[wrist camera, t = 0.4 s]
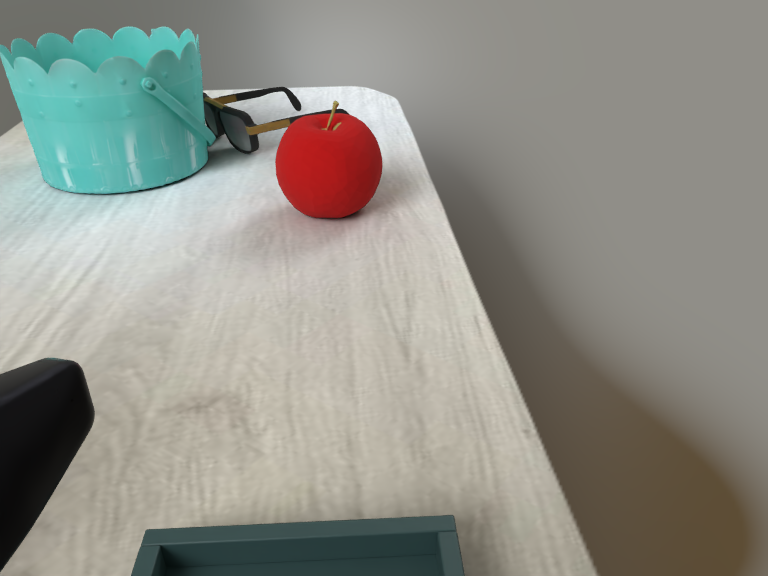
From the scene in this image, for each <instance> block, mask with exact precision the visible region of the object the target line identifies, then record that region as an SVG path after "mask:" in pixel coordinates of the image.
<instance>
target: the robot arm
mask: <svg viewBox="0 0 768 576" xmlns="http://www.w3.org/2000/svg"><path fill="white" fill-rule="evenodd" d="M94 416H95V411H94V406H93V403H92V399H91V396H90V393H89V389H88V386H87V382H86V379H85V376H84V372H83V370H82V368H81V367H80V365H79V364H78V363H76V362H74V361H71V360H64V359H58V358H44V359H41V360H38V361H35V362H33V363H30V364H27V365H25V366H22V367H19V368H16V369H14V370H11V371H8V372H5V373H3V374H0V572H1V570H2V569H3V568H4V566H5V565H6V564H7V562H8V561H9V559H10V558H11V557H12V555H13V554H14V552H15V551H16V550H17V548H18V547H19V546H20V544H21V543H22V541H23V540H24V538H25V537H26V535H27V534H28V533H29V531H30V530H31V528H32V527H33V525H34V523H35V522H36V520H37V519H38V517H39V515H40V514H41V512H42V510H43V509H44V507H45V505H46V504H47V502H48V500H49V499H50V497H51V495H52V494H53V492H54V490H55V489H56V487H57V485H58V484H59V482H60V480H61V478H62V477H63V475H64V473H65V472H66V470H67V468H68V467H69V465H70V463H71V462H72V460H73V458H74V457H75V455H76V453H77V452H78V450H79V448H80V447H81V445H82V443H83V441H84V440H85V438H86V436H87V435H88V433H89V431H90V429H91V428H92V425H93V422H94Z"/></svg>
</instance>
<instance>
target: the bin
mask: <svg viewBox="0 0 768 576" xmlns="http://www.w3.org/2000/svg"><path fill="white" fill-rule="evenodd" d="M131 576H465V575H464V569H463V563H462V558H461V552H460V547H459V541H458V536H457V532H456V525H455V519H454V516H453V515H443V516H422V517H401V518H380V519H359V520H338V521H317V522H295V523H274V524H253V525H232V526H211V527H190V528H169V529H148V530H146V531H145V534H144V537H143V540H142V544H141V547H140V549H139V552H138V555H137V559H136V562H135V565H134V568H133V571H132V574H131Z"/></svg>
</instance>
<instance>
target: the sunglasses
mask: <svg viewBox="0 0 768 576" xmlns="http://www.w3.org/2000/svg"><path fill="white" fill-rule="evenodd" d="M280 91H283V92H285V93H286V95H287V96H288V98H289V100H290V102H291V103H292V105H293V107H294V108H295V109H296V110H297V111H300V110H301V104H300V102H299V100H298V99H297V97H296V96H295V95H294V94H293V93H292V92H291V91H290V90H289V89H287V88H285V87H276V88H268V89H262V90H255V91H249V92H243V93H237V94H232V95H227V96H221V97H219V98H214V99H212V98H210V97H209V96H207V94H206V93H203V103H204V117H205V121H206V124H207V127H208V128H209V129H210V130H211V131H212V132H213V134H214V135H215V137H219V136H221V135H224V134H226V136H227V138H228V140H229V142H230V143H231V144H232V146H233V147H235V148H236V149H237V150H239V151H241V152H243V153H251V152H254V151H256V150H257V149H258V148H259V142H258V137H257V134H259V133H263V132H267V131H271V130H277V129H281V128H285V127H289V126H290V125H291V124H292V123H293V122H294V121H296V120H297V119H299V118H301V117H303V116H308V115H317V114H331V112H332V110H327V111H321V112H316V113H310V114H305V115H300V116H295V117H290V118H285V119H281V120H276V121H272V122H269V123H265V124H261V125H256V124H254V122H253V121H252V119H251V117H250V116H249V115H248V114H247V113H246V112H244V111H241V110H237V109H234V108H231V107H228V106H226V105H224V104H227V103H232V102H236V101H241V100H246V99H251V98H256V97H261V96H263V95H266V94H269V93H273V92H280ZM335 113H343V114H349V113H347V112H346V111H345V110H343V109H336V110H335Z"/></svg>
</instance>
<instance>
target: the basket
mask: <svg viewBox="0 0 768 576" xmlns="http://www.w3.org/2000/svg"><path fill="white" fill-rule="evenodd" d="M151 32H152V34H151V35H150V39H149V38H148V36H147V35H146V34H145V32H143V31H142V30H140V29H138V28H136V27H130V26H129V27H124V28H121V29H119V30H118V31H117V32H116V33H115V34H114V36H113V39H111V38H110V37H109V36H108V35H106V34H105V33H104V32H102V31H100V30H97V29H82V30H80V31H79V32H78V33H77V34H76V35H75V36H74V38H73V40H74V41H73V43H70V42H69V41H68V40H67V39H66V38H64V37H63V36H61V35H58V34H55V33H46V34H44V35H42V36H41V37H40V38H39V39H38V42H37V46H36V49H35V48H34V47H33V46H32V44H30V43H29V42H27V41H26V40H24V39H20V38H17V39H14V40H13V41H12V45H11V53H12V55H11V53H10V52H9V50H8V49H7V48H6V47H5V46H4V45H0V57H1V60H2V63H3V65H4V68H5V71H6V75H7V77H8V79H9V82H10V86H11V89H12V91H13V94H14V97H15V100H16V102H17V105H18V108H19V110H20V112H21V116H22V119H23V122H24V125H25V128H26V131H27V134H28V137H29V140H30V142H31V144H32V147H33V149H34V153H35V156H36V158H37V161H38V164H39V167H40V169H41V172H42V176H43V178H44V181H46V183H48V184H49V185H50V186H51V187H55V188H57V189H61V190H64V191H68V192H74V193H90V194H91V193H95V194H109V193H120V192H129V191H137V190H143V189H148V188H154V187H157V186H163V185H165V184H168V183H172V182H174V181H178V180H180V179H182V178H185V177H187V176H190V175H192V173H195V172H197V171H198V170H200V169H201V168H202V167H203V166H204V165H205V164H206V162H207V161H208V151H207V146H211V145H212V144H213V142H214V141H215V139H216V137H215V135H214V134H213V132H212V131H211V130H210V129H209V128H208V127H207V126H206V125H205V117H204V103H203V86H202V71H201V66H200V60H201V55H200V52H199V40H198V35H197V40H196V41H195V37H194V34H193V32H192V31H191V30H189V29H186V30H184V31H183V33H182V34H181V36H180V38H179V39H178V37H177V35H176V33H175V32H174V31H173V30H171V29H170V28H168V27H159V28H156V29H151Z"/></svg>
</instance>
